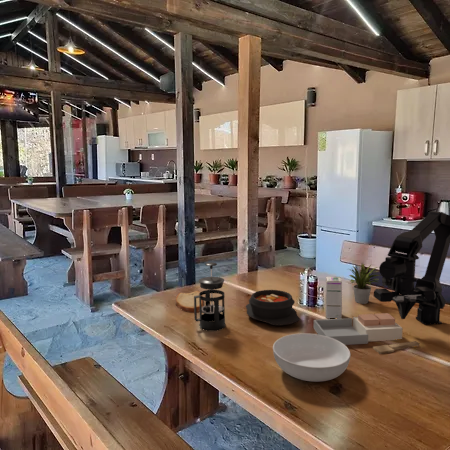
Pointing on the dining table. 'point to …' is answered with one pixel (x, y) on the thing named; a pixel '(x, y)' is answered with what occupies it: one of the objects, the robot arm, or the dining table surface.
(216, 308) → the french press
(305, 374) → the serving bowl
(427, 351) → the dining table surface
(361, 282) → the house plant
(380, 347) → the wooden spatula
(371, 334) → the white flat box
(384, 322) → the tile
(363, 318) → the tile
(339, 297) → the syrup box
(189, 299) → the bread slice
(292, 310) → the casserole
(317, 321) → the tray
